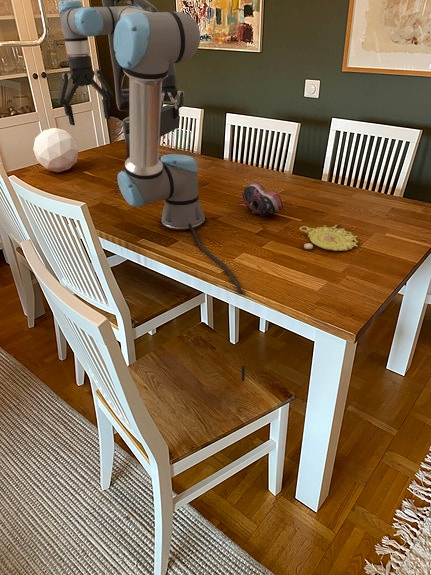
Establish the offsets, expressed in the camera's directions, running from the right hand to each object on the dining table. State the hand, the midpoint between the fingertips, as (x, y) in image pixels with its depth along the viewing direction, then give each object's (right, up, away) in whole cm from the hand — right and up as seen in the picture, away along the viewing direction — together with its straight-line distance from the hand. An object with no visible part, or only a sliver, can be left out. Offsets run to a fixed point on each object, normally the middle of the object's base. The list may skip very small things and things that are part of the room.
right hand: (90, 121), depth 159 cm
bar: (+23, +2, +20) cm, 30 cm away
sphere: (-29, -4, +51) cm, 59 cm away
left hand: (+26, +11, +24) cm, 37 cm away
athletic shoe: (+61, -32, +3) cm, 68 cm away
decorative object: (+81, -44, -18) cm, 94 cm away
